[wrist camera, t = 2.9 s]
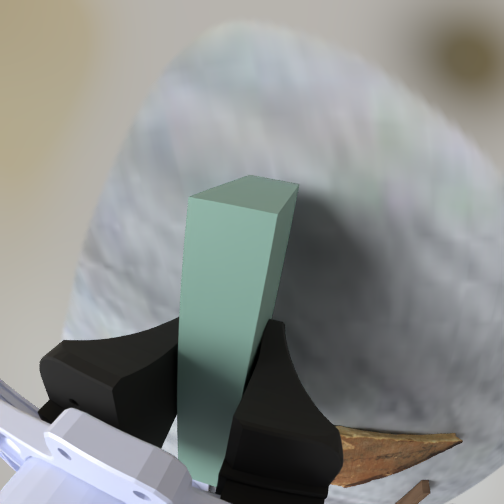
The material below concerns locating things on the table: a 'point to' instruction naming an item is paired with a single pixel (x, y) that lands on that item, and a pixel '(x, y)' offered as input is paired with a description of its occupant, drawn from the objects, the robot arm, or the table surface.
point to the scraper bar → (226, 308)
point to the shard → (385, 453)
